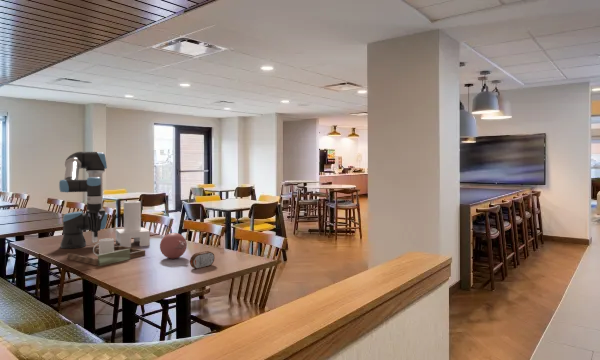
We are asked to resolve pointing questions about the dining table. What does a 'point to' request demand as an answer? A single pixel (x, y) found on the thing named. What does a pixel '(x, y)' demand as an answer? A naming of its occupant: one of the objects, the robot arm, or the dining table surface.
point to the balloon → (173, 245)
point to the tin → (202, 259)
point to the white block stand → (132, 226)
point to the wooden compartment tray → (109, 256)
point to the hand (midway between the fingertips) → (94, 242)
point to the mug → (105, 246)
